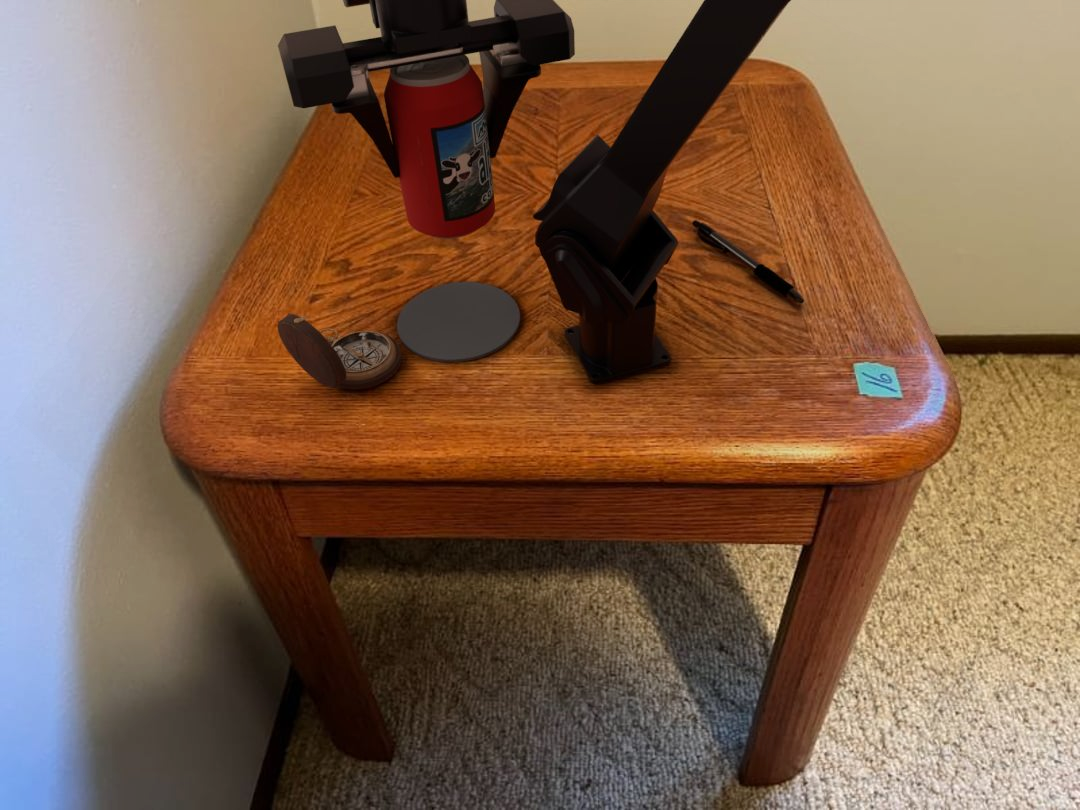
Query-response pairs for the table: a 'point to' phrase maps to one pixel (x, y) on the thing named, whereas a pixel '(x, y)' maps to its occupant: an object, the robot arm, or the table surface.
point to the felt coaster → (458, 321)
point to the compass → (340, 354)
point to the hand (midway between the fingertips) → (444, 165)
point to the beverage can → (441, 146)
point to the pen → (746, 261)
